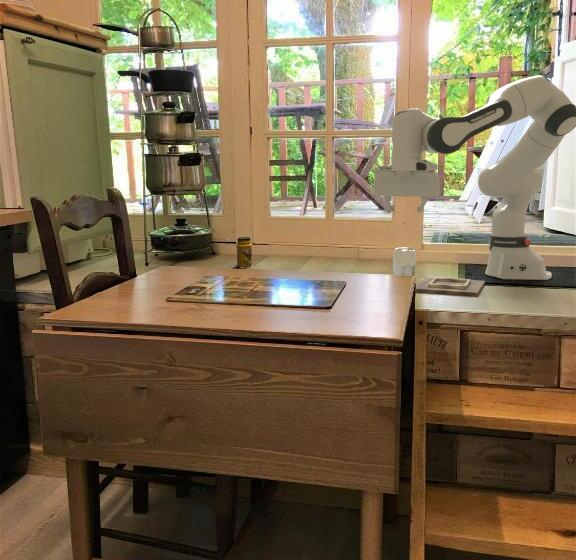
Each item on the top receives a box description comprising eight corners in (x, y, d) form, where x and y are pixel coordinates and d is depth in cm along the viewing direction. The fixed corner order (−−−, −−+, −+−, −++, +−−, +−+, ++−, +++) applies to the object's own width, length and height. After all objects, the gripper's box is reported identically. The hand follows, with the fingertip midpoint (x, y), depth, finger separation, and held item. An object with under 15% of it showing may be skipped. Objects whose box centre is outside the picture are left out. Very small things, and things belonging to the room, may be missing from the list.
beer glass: (400, 300, 188) (401, 251, 185) (388, 296, 194) (388, 248, 191) (419, 298, 191) (420, 249, 188) (406, 293, 197) (407, 246, 194)
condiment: (252, 268, 248) (251, 238, 246) (230, 268, 249) (229, 238, 247) (254, 265, 256) (253, 236, 253) (233, 265, 256) (232, 236, 254)
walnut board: (484, 284, 209) (485, 277, 209) (477, 296, 191) (477, 289, 191) (425, 280, 217) (425, 274, 217) (412, 292, 199) (412, 285, 199)
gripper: (369, 165, 188) (369, 211, 190) (435, 164, 177) (434, 213, 179) (378, 165, 193) (378, 209, 195) (442, 164, 182) (441, 211, 185)
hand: (405, 211), depth 187 cm, fingers open, 8 cm apart
